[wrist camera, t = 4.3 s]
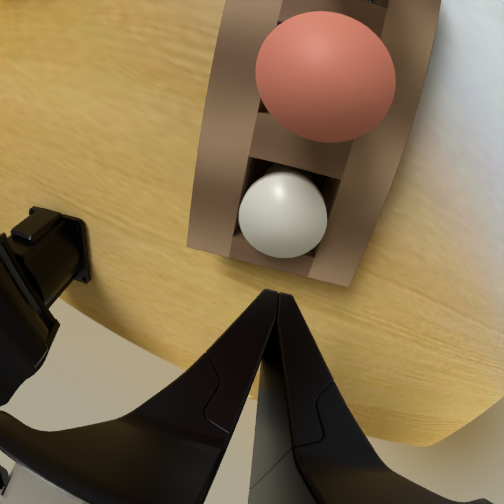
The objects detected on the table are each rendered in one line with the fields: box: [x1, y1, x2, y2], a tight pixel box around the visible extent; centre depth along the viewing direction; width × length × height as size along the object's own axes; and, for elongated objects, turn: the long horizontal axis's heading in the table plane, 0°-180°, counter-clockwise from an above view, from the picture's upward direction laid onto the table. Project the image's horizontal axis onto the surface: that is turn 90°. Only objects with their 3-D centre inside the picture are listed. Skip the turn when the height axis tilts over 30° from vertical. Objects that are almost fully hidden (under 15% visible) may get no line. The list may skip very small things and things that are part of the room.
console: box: [187, 0, 441, 287], centre depth 13 cm, size 20×9×4 cm, turn 169°
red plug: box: [255, 11, 396, 143], centre depth 10 cm, size 4×4×5 cm
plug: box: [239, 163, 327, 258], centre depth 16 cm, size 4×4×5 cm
